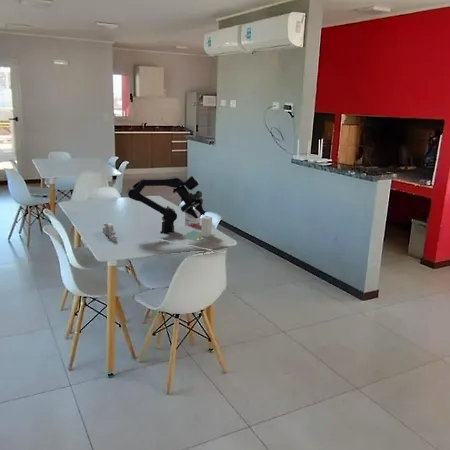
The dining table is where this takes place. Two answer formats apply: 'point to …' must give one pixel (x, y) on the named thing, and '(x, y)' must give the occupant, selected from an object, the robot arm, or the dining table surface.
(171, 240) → the dining table surface
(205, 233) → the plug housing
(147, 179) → the robot arm
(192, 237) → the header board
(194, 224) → the ink box
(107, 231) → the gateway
